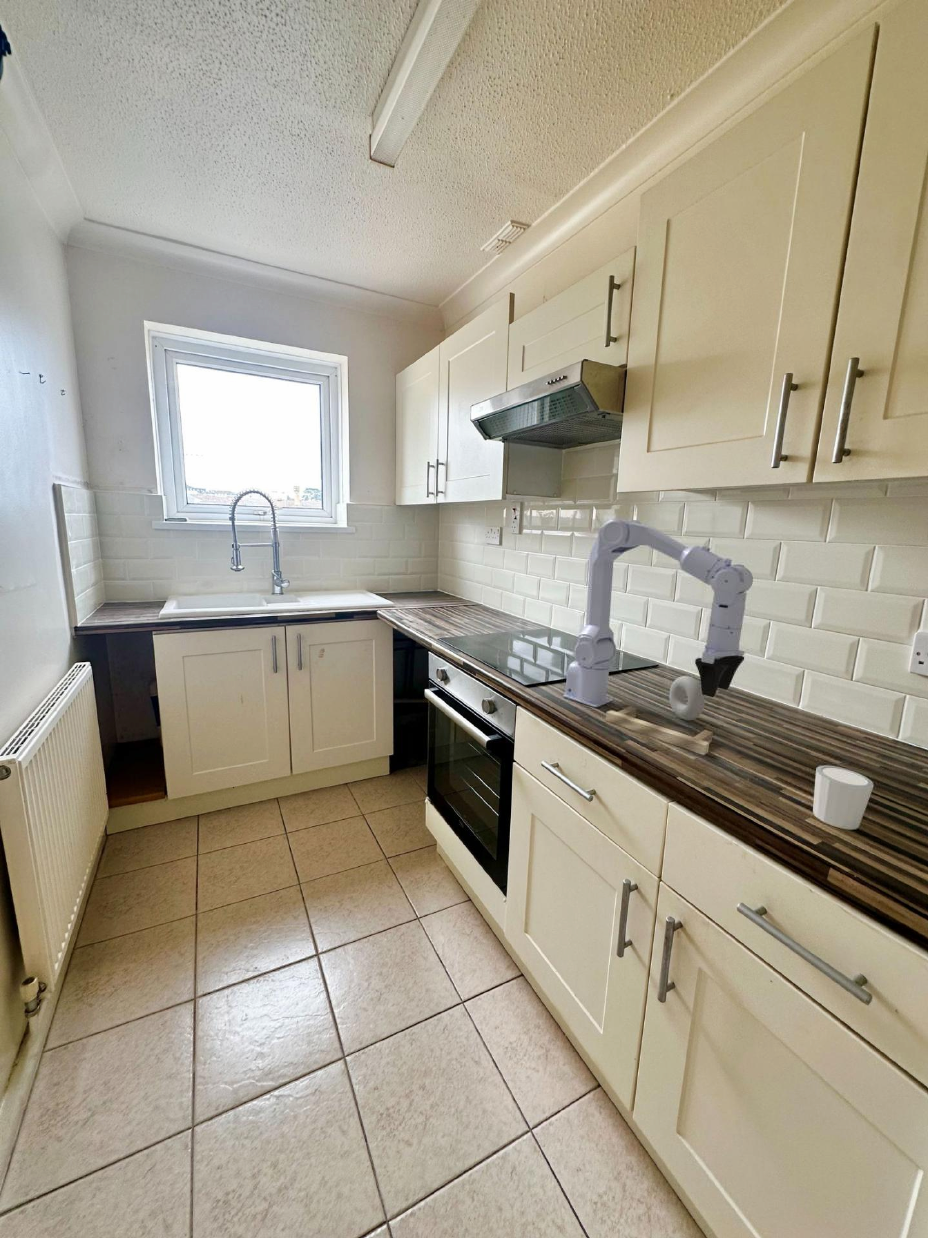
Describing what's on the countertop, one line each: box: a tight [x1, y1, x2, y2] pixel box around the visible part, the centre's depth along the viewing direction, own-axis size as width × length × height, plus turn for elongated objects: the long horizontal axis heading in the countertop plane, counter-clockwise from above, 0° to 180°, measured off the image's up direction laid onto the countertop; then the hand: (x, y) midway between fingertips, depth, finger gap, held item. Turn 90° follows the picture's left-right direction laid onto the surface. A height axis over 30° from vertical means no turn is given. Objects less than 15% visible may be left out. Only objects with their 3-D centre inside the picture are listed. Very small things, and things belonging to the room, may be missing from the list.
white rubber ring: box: [668, 675, 706, 721], centre depth 111 cm, size 10×4×10 cm, turn 11°
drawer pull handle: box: [605, 706, 714, 756], centre depth 103 cm, size 21×8×2 cm, turn 44°
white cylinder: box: [812, 765, 875, 831], centre depth 74 cm, size 7×7×7 cm
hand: (715, 691), depth 100 cm, fingers open, 7 cm apart
